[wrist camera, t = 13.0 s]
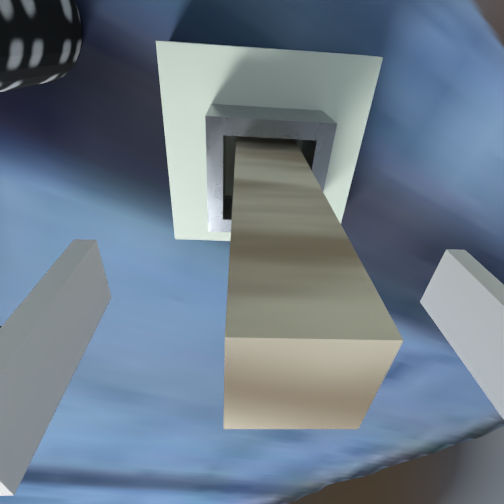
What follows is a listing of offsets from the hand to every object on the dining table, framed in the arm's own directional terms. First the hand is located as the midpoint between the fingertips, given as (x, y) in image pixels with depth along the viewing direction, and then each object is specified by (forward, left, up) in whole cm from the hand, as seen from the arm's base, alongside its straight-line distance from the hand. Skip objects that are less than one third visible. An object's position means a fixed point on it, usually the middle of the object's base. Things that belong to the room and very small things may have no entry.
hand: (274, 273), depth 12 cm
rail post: (0, 0, -13) cm, 13 cm away
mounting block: (0, 0, -17) cm, 17 cm away
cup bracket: (0, 0, -13) cm, 13 cm away
